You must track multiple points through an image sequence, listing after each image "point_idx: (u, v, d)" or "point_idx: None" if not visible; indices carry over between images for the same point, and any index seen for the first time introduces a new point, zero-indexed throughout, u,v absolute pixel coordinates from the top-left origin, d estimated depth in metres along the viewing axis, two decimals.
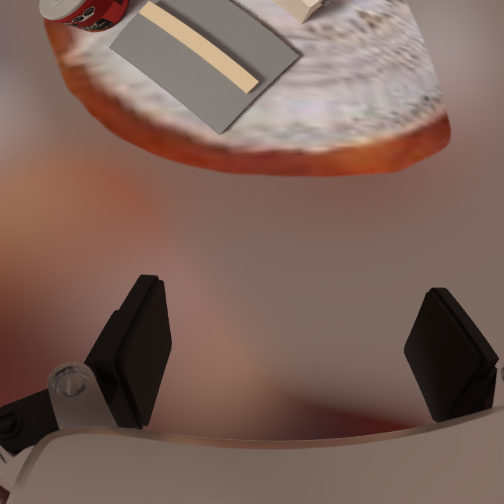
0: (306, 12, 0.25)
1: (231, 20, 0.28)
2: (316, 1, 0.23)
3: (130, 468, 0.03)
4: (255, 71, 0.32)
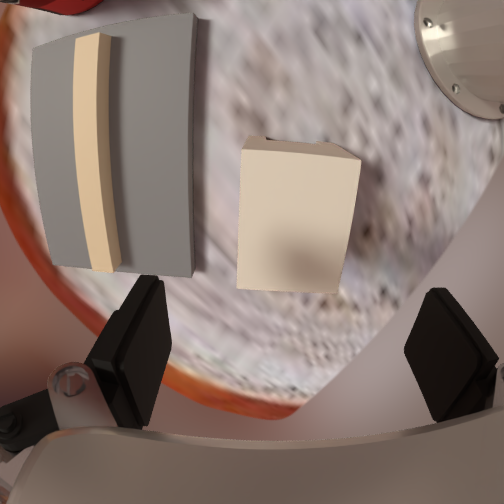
0: None
1: (160, 162, 0.20)
2: (256, 287, 0.18)
3: (130, 468, 0.03)
4: (128, 248, 0.23)
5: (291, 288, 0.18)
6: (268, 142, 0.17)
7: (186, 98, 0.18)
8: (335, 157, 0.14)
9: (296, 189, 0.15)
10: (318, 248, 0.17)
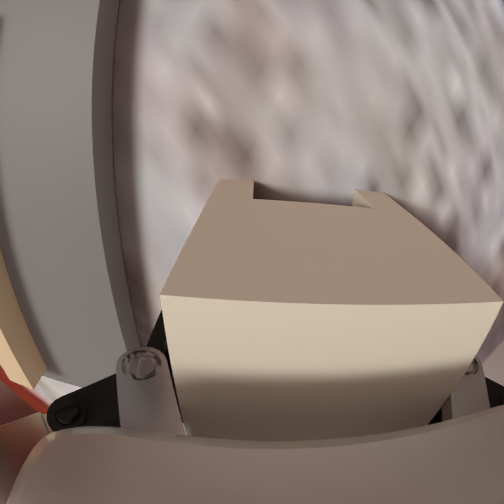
0: None
1: (59, 237, 0.10)
2: None
3: (130, 468, 0.03)
4: (49, 355, 0.13)
5: None
6: (257, 215, 0.07)
7: (87, 111, 0.08)
8: (453, 304, 0.04)
9: (331, 387, 0.05)
10: None
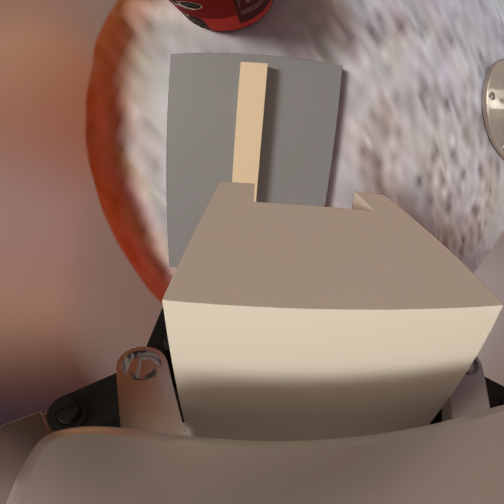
0: None
1: (305, 185, 0.25)
2: None
3: (130, 468, 0.03)
4: None
5: None
6: (258, 218, 0.07)
7: (332, 137, 0.23)
8: (453, 308, 0.04)
9: (332, 390, 0.05)
10: None
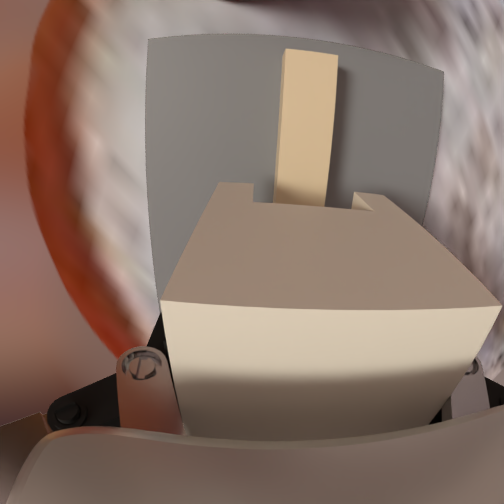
0: None
1: None
2: None
3: (130, 468, 0.03)
4: None
5: None
6: (257, 218, 0.07)
7: (427, 190, 0.13)
8: (452, 309, 0.04)
9: (330, 391, 0.05)
10: None
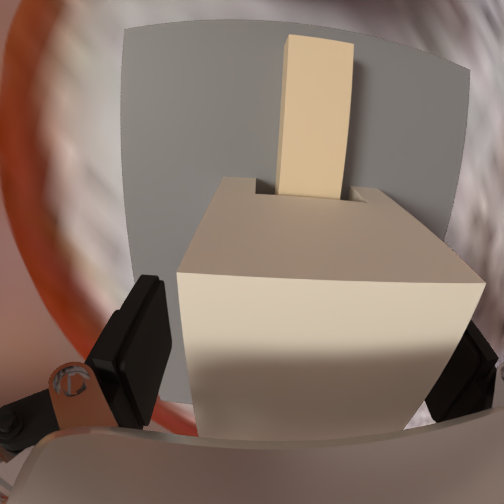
0: None
1: None
2: None
3: (130, 468, 0.03)
4: None
5: None
6: (260, 207, 0.08)
7: (449, 206, 0.11)
8: (437, 283, 0.05)
9: (328, 361, 0.06)
10: (356, 433, 0.07)
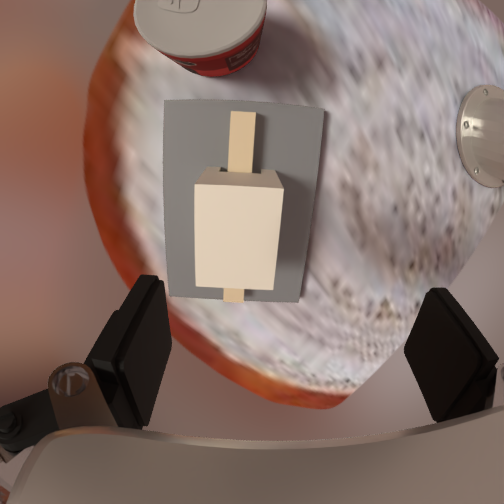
0: None
1: (290, 221, 0.29)
2: (210, 285, 0.23)
3: (130, 468, 0.03)
4: None
5: (237, 286, 0.24)
6: (218, 174, 0.23)
7: (315, 176, 0.27)
8: (263, 187, 0.20)
9: (234, 212, 0.21)
10: (254, 255, 0.22)
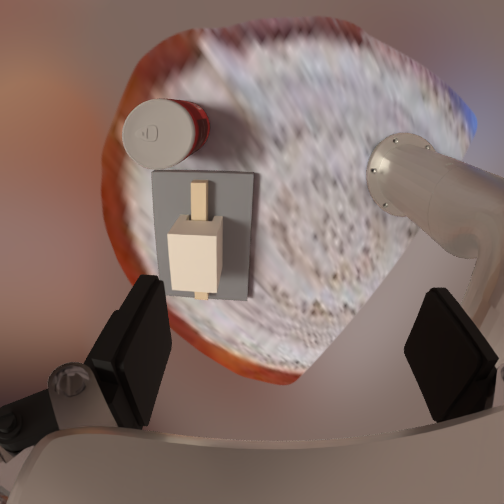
0: None
1: (236, 248, 0.44)
2: (180, 289, 0.39)
3: (130, 468, 0.03)
4: None
5: (195, 290, 0.39)
6: (184, 223, 0.39)
7: (250, 219, 0.42)
8: (204, 235, 0.36)
9: (190, 249, 0.37)
10: (203, 272, 0.38)
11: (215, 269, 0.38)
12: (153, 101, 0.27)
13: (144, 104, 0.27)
